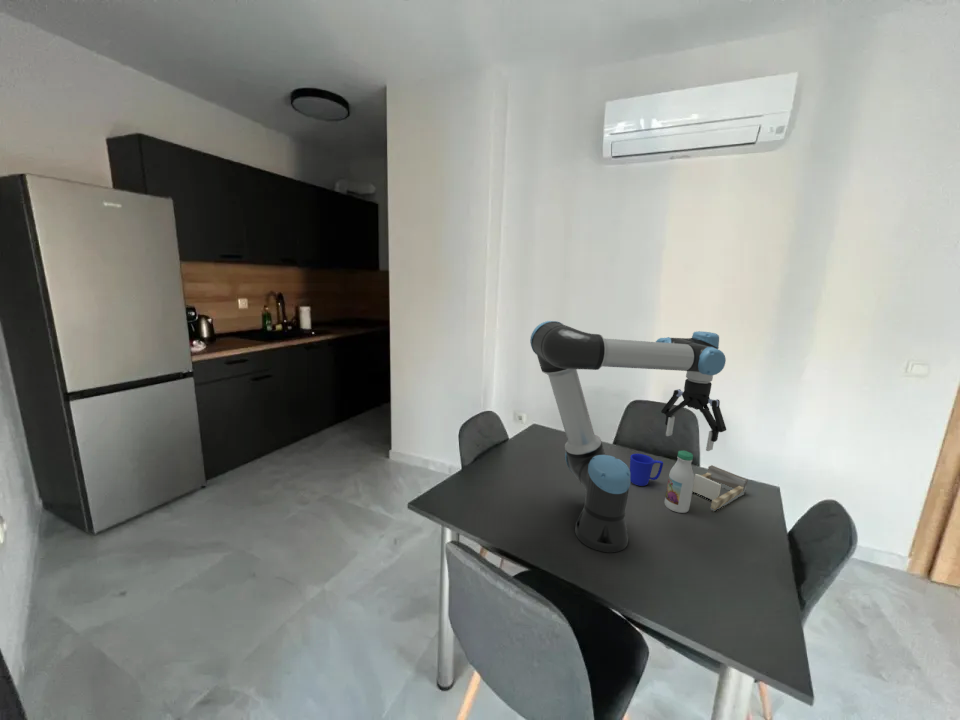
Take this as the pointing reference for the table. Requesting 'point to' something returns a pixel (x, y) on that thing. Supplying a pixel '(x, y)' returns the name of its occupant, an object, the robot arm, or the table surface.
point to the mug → (642, 469)
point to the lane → (727, 479)
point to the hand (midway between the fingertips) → (688, 442)
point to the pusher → (706, 487)
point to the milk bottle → (680, 484)
